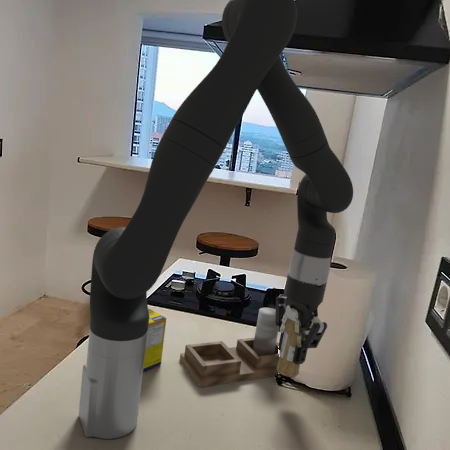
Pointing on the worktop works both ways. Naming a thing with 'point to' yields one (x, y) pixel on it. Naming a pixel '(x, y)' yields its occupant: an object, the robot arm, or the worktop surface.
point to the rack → (236, 355)
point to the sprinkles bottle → (289, 347)
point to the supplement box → (154, 340)
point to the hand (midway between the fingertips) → (290, 356)
